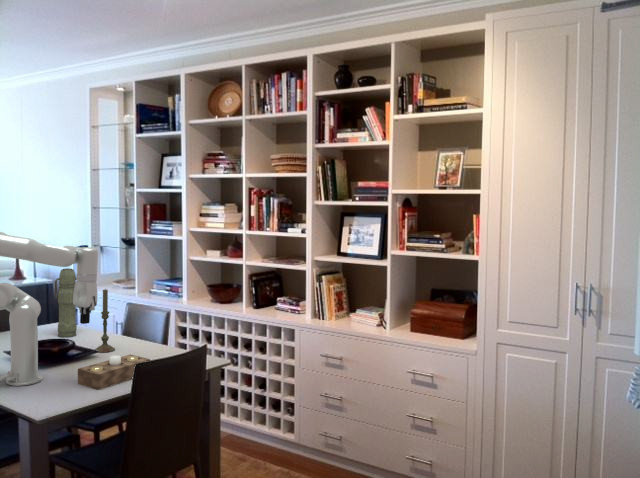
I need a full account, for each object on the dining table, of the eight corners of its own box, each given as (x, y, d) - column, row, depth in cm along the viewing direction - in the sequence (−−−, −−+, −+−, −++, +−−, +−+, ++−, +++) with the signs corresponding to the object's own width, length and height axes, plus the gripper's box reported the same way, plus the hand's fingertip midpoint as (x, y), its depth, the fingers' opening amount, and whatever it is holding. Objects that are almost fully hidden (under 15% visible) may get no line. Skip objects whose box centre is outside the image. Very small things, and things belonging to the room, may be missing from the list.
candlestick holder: (93, 353, 268) (93, 289, 265) (95, 348, 276) (96, 286, 274) (114, 352, 270) (114, 289, 268) (115, 347, 279) (116, 286, 277)
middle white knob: (114, 372, 230) (114, 358, 229) (107, 370, 232) (107, 356, 232) (123, 369, 234) (123, 356, 233) (115, 367, 236) (115, 354, 235)
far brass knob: (132, 372, 238) (132, 359, 237) (124, 370, 240) (124, 357, 239) (140, 369, 241) (140, 356, 241) (132, 367, 244) (133, 355, 243)
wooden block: (98, 389, 219) (98, 374, 218) (77, 383, 225) (77, 368, 224) (149, 373, 241) (150, 359, 241) (130, 368, 247) (130, 354, 247)
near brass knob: (95, 383, 222) (95, 369, 222) (88, 381, 224) (88, 367, 224) (104, 380, 226) (104, 367, 226) (97, 378, 228) (97, 365, 228)
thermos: (53, 334, 299) (53, 268, 297) (78, 332, 305) (78, 267, 302) (55, 338, 292) (55, 270, 289) (80, 336, 297) (80, 269, 295)
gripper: (67, 276, 231) (65, 321, 232) (89, 281, 223) (87, 327, 224) (83, 275, 237) (82, 318, 238) (106, 279, 229) (104, 325, 230)
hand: (84, 323), depth 231 cm, fingers closed
